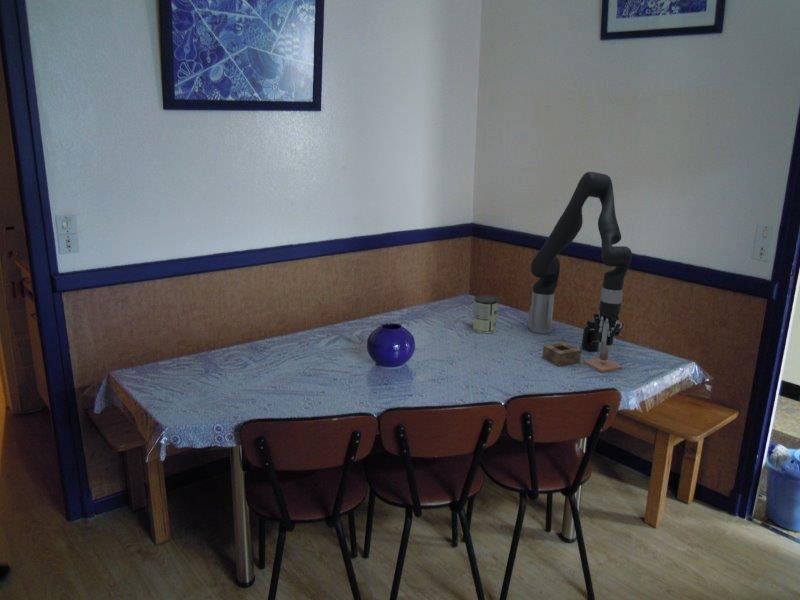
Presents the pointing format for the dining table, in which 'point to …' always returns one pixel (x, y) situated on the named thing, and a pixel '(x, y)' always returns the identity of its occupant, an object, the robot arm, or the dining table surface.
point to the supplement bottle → (590, 336)
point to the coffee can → (485, 313)
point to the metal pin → (604, 344)
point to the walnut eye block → (561, 354)
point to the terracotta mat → (603, 365)
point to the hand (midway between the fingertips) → (605, 343)
